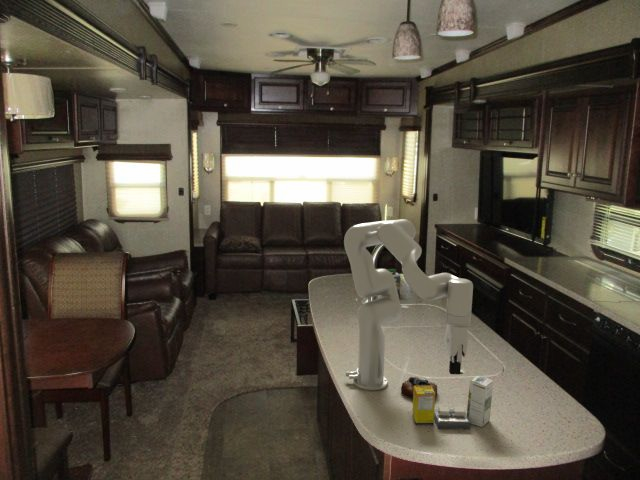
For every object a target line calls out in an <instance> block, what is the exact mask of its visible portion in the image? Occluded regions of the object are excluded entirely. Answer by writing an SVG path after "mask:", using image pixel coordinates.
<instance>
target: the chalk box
mask: <svg viewBox="0 0 640 480" xmlns="http://www.w3.org/2000/svg"><path fill="white" fill-rule="evenodd" d="M387 270H388V271H389V272H390V273H391V274H392V275H393V277H394V279H395V283H396V287H397V292H398V296H401V275H400V274H399V273H398V272H397V269H395V268H390V269H387Z"/></svg>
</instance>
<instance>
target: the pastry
mask: <svg viewBox="0 0 640 480" xmlns="http://www.w3.org/2000/svg"><path fill="white" fill-rule="evenodd" d="M414 386H432V388H433V390H434V392H435V397H436V396H437V395H438V385H437V384H436V383H435V382H431V381H429V380H428V379H422V378H419V377H417V376H414V377H413V376H410V377H409V378H408V380H405V381H404V382H402V384H401V388H400V389H401V390H400V395H402V396H404V397H407V398H409V399H412V400H413V392H414Z"/></svg>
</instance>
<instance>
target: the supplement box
mask: <svg viewBox="0 0 640 480" xmlns="http://www.w3.org/2000/svg"><path fill="white" fill-rule="evenodd" d="M435 405H436V396H435V392H434V390H433V388H432V386H414V392H413V399H412V411H411V412H412V418H413V421H414V424H415V425H416V426H418V425H419V426H420V425H421V426H424V425H425V426H426V425H430V426H431V425H432V426H433V425H434V423H435V419H434V409H436V408H435Z"/></svg>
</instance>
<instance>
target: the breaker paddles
mask: <svg viewBox="0 0 640 480" xmlns="http://www.w3.org/2000/svg"><path fill="white" fill-rule="evenodd" d="M437 409H438V413H439V415H449V413H454V414H455V416H464V414H465V413H466V411H465V407H464V406H454V407H453V410H454V411H449V410H450V408H449V406H438V408H437Z"/></svg>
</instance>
